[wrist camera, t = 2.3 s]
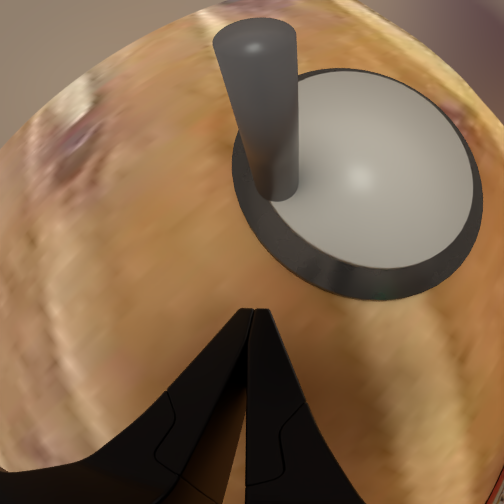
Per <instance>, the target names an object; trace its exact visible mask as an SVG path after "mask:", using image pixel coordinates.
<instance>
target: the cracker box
mask: <svg viewBox="0 0 504 504" xmlns="http://www.w3.org/2000/svg"><path fill="white" fill-rule="evenodd" d="M486 504H504V469H503V471H502V473H501V475H500V477H499V479H498V482H497V484H496V486H495V488H494V490H493V492H492V494H491V496H490V498H489V499H488V501H487V503H486Z"/></svg>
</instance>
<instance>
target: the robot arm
mask: <svg viewBox="0 0 504 504" xmlns="http://www.w3.org/2000/svg"><path fill="white" fill-rule="evenodd" d="M245 412H246V470H245V486H246V488H245V504H366V503H365V502H364V501H363V499H362V498H361V497H360V496H359V494H358V493H357V491H356V490H355V489H354V487H353V486H352V484H351V483H350V481H349V479H348V478H347V476H346V475H345V473H344V471H343V470H342V468H341V467H340V465H339V463H338V462H337V460H336V459H335V457H334V455H333V454H332V452H331V450H330V449H329V447H328V445H327V443H326V442H325V440H324V438H323V436H322V434H321V433H320V431H319V428H318V426H317V424H316V422H315V420H314V417H313V415H312V413H311V410H310V408H309V405H308V403H307V402H306V398H305V396H304V393H303V391H302V389H301V386H300V384H299V381H298V379H297V376H296V374H295V371H294V369H293V366H292V364H291V361H290V359H289V356H288V354H287V351H286V349H285V346H284V344H283V341H282V339H281V336H280V334H279V331H278V329H277V326H276V324H275V321H274V319H273V316H272V314H271V311H270V310H269V309H259V308H257V309H255V310H254V309H252V308H240V309H239V310H238V311H237V312H236V313H235V314H234V315H233V316H232V318H231V319H230V320H229V321H228V322H227V323H226V324H225V325H224V327H223V328H222V329H221V330H220V331H219V332H218V333H217V334H216V336H215V337H214V338H213V339H212V340H211V341H210V342H209V343H208V345H207V346H206V347H205V348H204V349H203V350H202V351H201V352H200V353H199V355H198V356H197V357H196V358H195V359H194V360H193V361H192V362H191V363H190V364H189V366H188V367H187V368H186V369H185V370H184V371H183V372H182V373H181V374H180V375H179V376H178V378H177V379H176V380H175V381H174V382H173V383H172V384H171V385H170V386H169V387H168V388H167V391H164V393H163V394H162V395H161V396H160V397H159V398H158V399H157V400H156V401H155V402H154V403H153V404H152V405H151V406H150V407H149V408H148V409H147V410H146V411H145V412H144V413H143V414H142V415H141V416H140V417H138V418H137V419H136V420H135V421H134V422H133V423H132V424H130V425H129V426H128V427H127V428H126V429H124V430H123V431H122V432H121V433H119V434H118V435H117V436H116V437H114V438H113V439H112V440H111V441H109V442H108V443H107V444H105V445H104V446H103V447H102V448H100V449H99V450H98V451H96V452H95V453H94V454H92V455H90V456H89V457H87V458H85V459H82V460H80V461H77V462H74V463H70V464H65V465H60V466H54V467H49V468H43V469H37V470H30V471H22V472H8V471H6V470H4V469H3V468H1V467H0V504H222V502H223V499H224V495H225V491H226V487H227V484H228V480H229V476H230V472H231V468H232V464H233V460H234V457H235V453H236V449H237V445H238V441H239V437H240V433H241V428H242V424H243V420H244V416H245Z"/></svg>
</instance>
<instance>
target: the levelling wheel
mask: <svg viewBox="0 0 504 504" xmlns="http://www.w3.org/2000/svg"><path fill="white" fill-rule="evenodd" d="M213 48H214V51H215V54H216V57H217V60H218V63H219V66H220V70H221V73H222V76H223V79H224V82H225V86H226V89H227V92H228V95H229V99H230V102H231V105H232V109H233V112H234V115H235V118H236V122H237V125H238V128H239V132H240V135H241V139H242V142H243V145H244V149H245V152H246V156H247V159H248V162H249V166H250V169H251V173H252V176H253V180H254V183H255V187H256V190H257V192H258V193H259V194H260V195H261V196H262V197H263V198H264V199H266V200H269V202H270V204H271V206H272V208H273V209H274V210H275V212H276V213H277V215H278V216H279V217H280V219H281V220H282V221H283V222H284V223H285V224H286V225H287V227H288V228H289V229H290V230H291V231H292V232H293V233H294V234H295V235H297V236H298V237H299V238H300V239H301V240H303V241H304V242H305V243H306V244H308V245H309V246H311V247H312V248H314V249H316V250H317V251H319V252H320V253H322V254H324V255H326V256H328V257H330V258H332V259H335V260H337V261H339V262H342V263H345V264H348V265H351V266H355V267H361V268H366V269H374V270H392V269H402V268H406V267H410V266H414V265H417V264H419V263H421V262H423V261H426V260H428V259H430V258H432V257H434V256H435V255H437V254H438V253H440V252H441V251H443V250H444V249H445V248H446V247H447V246H449V245H450V244H451V243H452V242H453V241H454V240H455V238H456V237H457V236H458V234H459V233H460V232H461V230H462V228H463V226H464V224H465V222H466V220H467V218H468V215H469V212H470V209H471V204H472V197H473V179H472V171H471V167H470V163H469V159H468V156H467V154H466V151H465V148H464V146H463V144H462V142H461V140H460V138H459V136H458V135H457V133H456V132H455V130H454V129H453V127H452V126H451V124H450V123H449V122H448V121H447V119H446V118H445V117H444V116H443V115H442V114H441V113H440V112H439V111H438V110H437V109H436V108H435V107H434V106H433V105H432V104H431V103H430V102H428V101H427V100H426V99H425V98H423V97H422V96H420V95H419V94H418V93H416V92H415V91H413V90H411V89H409V88H408V87H406V86H404V85H402V84H400V83H397V82H395V81H393V80H390V79H387V78H384V77H381V76H378V75H373V74H369V73H362V72H353V71H339V72H329V73H323V74H318V75H315V76H312V77H309V78H306V79H304V80H302V81H299V82H298V65H297V41H296V32H295V30H294V28H293V27H292V26H291V25H289V24H288V23H286V22H283V21H281V20H277V19H272V18H250V19H244V20H240V21H237V22H234V23H232V24H230V25H228V26H226V27H224V28H223V29H221V30H220V31H219V32H218V33H217V34H216V35H215V37H214V39H213Z"/></svg>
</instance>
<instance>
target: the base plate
mask: <svg viewBox="0 0 504 504" xmlns="http://www.w3.org/2000/svg"><path fill="white" fill-rule="evenodd" d="M339 71H353V72H362V73H369V74H373V75H378V76H381V77H384V78H387V79H390V80H393V81H395V82H397V83H400V84H402V85H404V86H406V87H408V88H409V89H411V90H413V91H415V92H416V93H418V94H419V95H420V96H422V97H423V98H425V99H426V100H427V101H428V102H430V103H431V104H432V105H433V106H434V107H435V108H436V109H437V110H438V111H439V112H440V113H441V114H442V115H443V116H444V117H445V118H446V119H447V121H448V122H449V123H450V124H451V126H452V127H453V129H454V130H455V132H456V133H457V135H458V136H459V138H460V140H461V142H462V144H463V146H464V148H465V151H466V154H467V156H468V159H469V163H470V167H471V171H472V179H473V197H472V204H471V209H470V212H469V215H468V218H467V220H466V222H465V224H464V226H463V228H462V230H461V232H460V233H459V234H458V236H457V237H456V238H455V240H454V241H453V242H452V243H451V244H450V245H449V246H447V247H446V248H445V249H444V250H443V251H441V252H440V253H438V254H437V255H435V256H434V257H432V258H430V259H428V260H426V261H423V262H421V263H419V264H417V265H414V266H410V267H406V268H402V269H392V270H374V269H366V268H361V267H355V266H351V265H348V264H345V263H342V262H339V261H337V260H335V259H332V258H330V257H328V256H326V255H324V254H322V253H320V252H319V251H317V250H316V249H314V248H312V247H311V246H309V245H308V244H306V243H305V242H304V241H303V240H301V239H300V238H299V237H298V236H297V235H295V234H294V233H293V232H292V231H291V230H290V229H289V228H288V227H287V225H286V224H285V223H284V222H283V221H282V220H281V219H280V217H279V216H278V215H277V213H276V212H275V210H274V209H273V208H272V206H271V204H270V202H269V200H266V199H264V198H263V197H262V196H261V195H260V194H259V193H258V192H257V190H256V187H255V183H254V180H253V176H252V173H251V169H250V166H249V162H248V159H247V156H246V152H245V149H244V145H243V142H242V139H241V135H240V132H239V130H238V133H237V136H236V139H235V143H234V148H233V155H232V176H233V182H234V188H235V192H236V195H237V198H238V201H239V204H240V207H241V209H242V212H243V214H244V216H245V218H246V220H247V222H248V224H249V226H250V228H251V229H252V231H253V232H254V234H255V235H256V237H257V238H258V240H259V241H260V243H261V244H262V245H263V246H264V247H265V248H266V249H267V251H268V252H269V253H270V254H271V255H272V256H273V257H274V258H275V259H276V260H277V261H278V262H279V263H281V264H282V265H283V266H284V267H285V268H286V269H288V270H289V271H290V272H292V273H293V274H295V275H296V276H298V277H299V278H301V279H302V280H304V281H305V282H307V283H309V284H311V285H313V286H316V287H318V288H320V289H322V290H324V291H327V292H330V293H333V294H336V295H339V296H342V297H346V298H352V299H357V300H363V301H387V300H395V299H401V298H405V297H409V296H412V295H416V294H419V293H422V292H424V291H426V290H428V289H430V288H433V287H435V286H437V285H438V284H440V283H441V282H442V281H444V280H445V279H447V278H448V277H449V276H450V275H452V274H453V273H454V272H455V271H456V270H457V269H458V268H459V267H460V266H461V264H462V263H463V261H464V260H465V259H466V257H467V256H468V254H469V253H470V251H471V249H472V247H473V245H474V243H475V241H476V238H477V235H478V232H479V229H480V225H481V219H482V212H483V193H482V184H481V179H480V175H479V171H478V167H477V164H476V162H475V159H474V156H473V154H472V152H471V150H470V148H469V146H468V144H467V142H466V140H465V139H464V137H463V136H462V134H461V132H460V131H459V129H458V128H457V127H456V126H455V124H454V123H453V122H452V121H451V119H450V118H449V117H448V116H447V115H446V114H445V113H444V112H443V111H442V110H441V109H440V108H439V107H438V106H437V105H436V104H434V103H433V102H432V101H431V100H430V99H428V98H427V97H425V96H424V95H423V94H421V93H420V92H418V91H417V90H415V89H413V88H411V87H410V86H408V85H406V84H404V83H402V82H400V81H397V80H395V79H393V78H390V77H387V76H384V75H381V74H378V73H374V72H370V71H365V70H358V69H350V68H332V69H321V70H316V71H311V72H307V73H304V74H300V75H298V82H299V81H302V80H304V79H306V78H309V77H312V76H315V75H318V74H323V73H329V72H339Z"/></svg>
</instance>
